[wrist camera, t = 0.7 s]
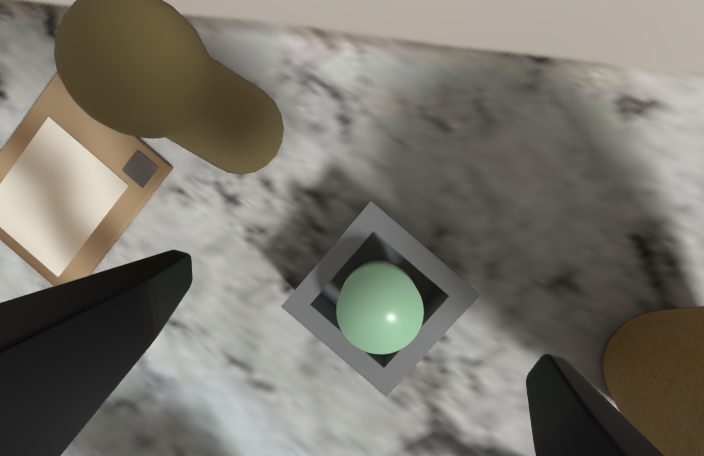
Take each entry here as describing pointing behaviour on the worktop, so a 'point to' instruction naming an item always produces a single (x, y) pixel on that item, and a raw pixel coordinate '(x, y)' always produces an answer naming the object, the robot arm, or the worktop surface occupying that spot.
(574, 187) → the worktop surface
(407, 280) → the button
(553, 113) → the worktop surface
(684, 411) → the plant pot
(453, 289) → the button housing
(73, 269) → the tan rectangular board
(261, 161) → the cork
